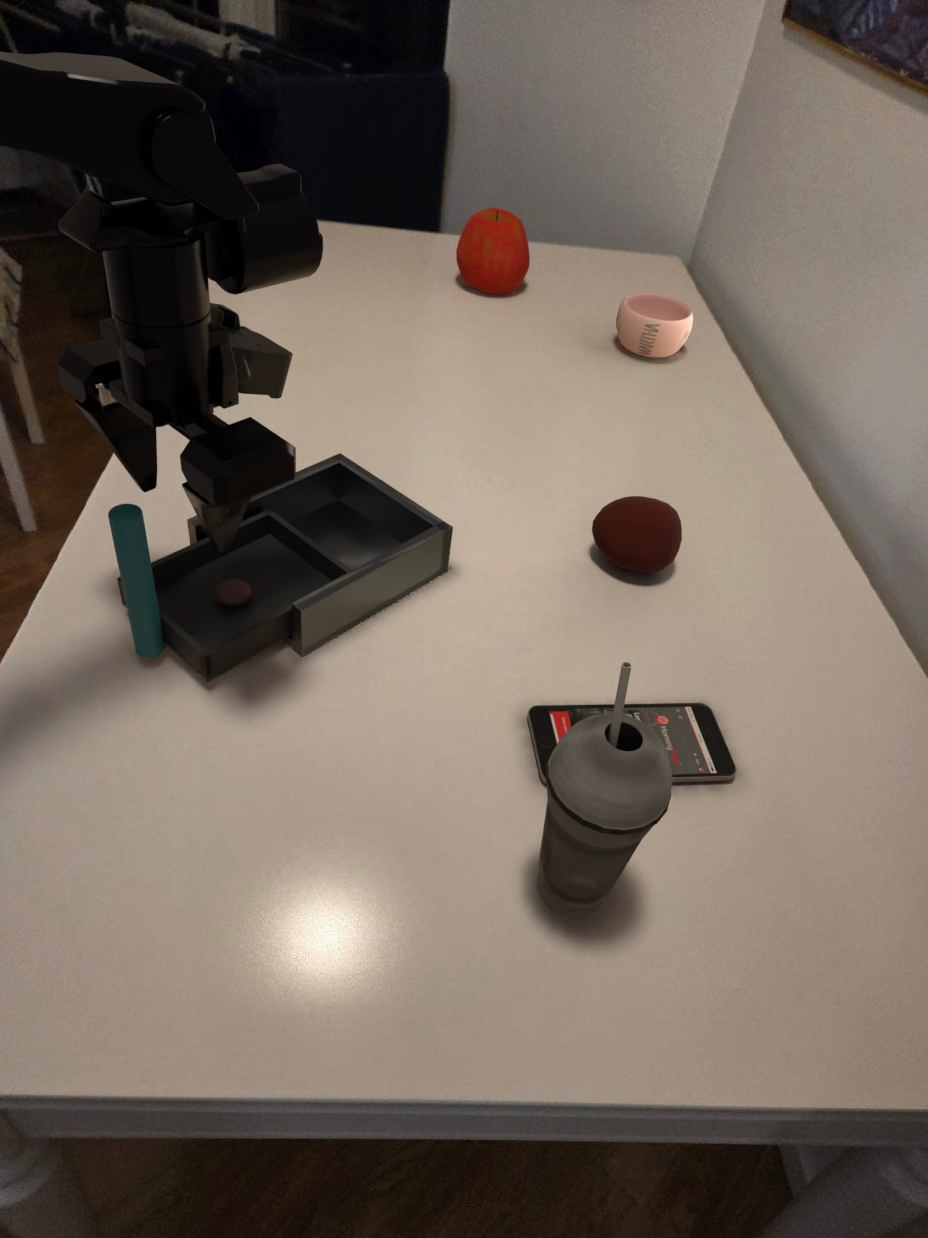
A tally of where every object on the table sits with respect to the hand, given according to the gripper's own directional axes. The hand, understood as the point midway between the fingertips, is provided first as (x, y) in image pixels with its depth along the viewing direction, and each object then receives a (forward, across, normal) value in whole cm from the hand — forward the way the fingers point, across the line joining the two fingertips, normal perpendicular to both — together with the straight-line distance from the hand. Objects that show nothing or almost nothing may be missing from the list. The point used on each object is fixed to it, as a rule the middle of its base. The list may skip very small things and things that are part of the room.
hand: (185, 518), depth 64 cm
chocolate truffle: (+10, 0, -4) cm, 11 cm away
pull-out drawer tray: (+12, 0, -13) cm, 18 cm away
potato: (+11, -17, -36) cm, 42 cm away
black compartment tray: (+11, 0, -3) cm, 11 cm away
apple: (+11, +35, -74) cm, 83 cm away
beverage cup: (+12, -35, -4) cm, 37 cm away
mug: (+11, +9, -78) cm, 79 cm away
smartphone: (+12, -31, -17) cm, 37 cm away
